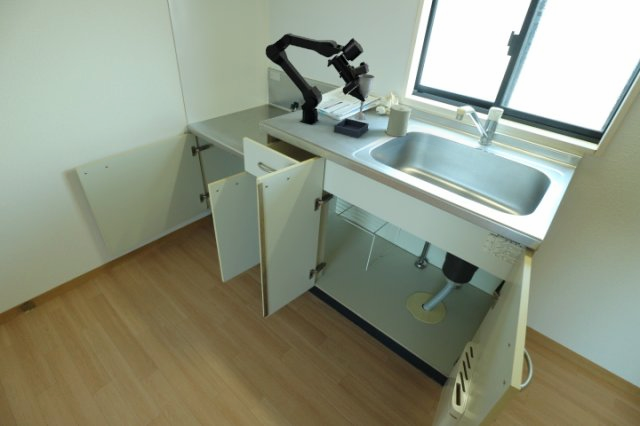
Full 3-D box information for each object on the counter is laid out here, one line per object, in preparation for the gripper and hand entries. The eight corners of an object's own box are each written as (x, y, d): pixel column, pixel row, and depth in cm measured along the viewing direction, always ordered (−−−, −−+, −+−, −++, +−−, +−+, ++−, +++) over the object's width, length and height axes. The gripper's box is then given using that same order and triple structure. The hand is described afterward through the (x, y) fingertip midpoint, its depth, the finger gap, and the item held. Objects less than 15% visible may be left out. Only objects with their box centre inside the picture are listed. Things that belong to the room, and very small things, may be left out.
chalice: (363, 122, 143) (370, 79, 132) (349, 118, 145) (355, 76, 134) (369, 117, 148) (376, 76, 138) (355, 114, 150) (361, 73, 140)
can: (387, 136, 145) (392, 109, 138) (384, 128, 153) (388, 102, 146) (408, 137, 145) (414, 110, 138) (403, 129, 153) (409, 103, 146)
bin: (333, 131, 146) (334, 125, 144) (345, 124, 154) (345, 118, 153) (357, 138, 142) (358, 131, 140) (367, 129, 150) (368, 123, 148)
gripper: (353, 59, 125) (377, 93, 129) (363, 52, 140) (384, 82, 144) (332, 78, 132) (355, 110, 136) (344, 69, 146) (364, 98, 150)
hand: (365, 99), depth 141 cm, fingers closed on chalice, 6 cm apart
